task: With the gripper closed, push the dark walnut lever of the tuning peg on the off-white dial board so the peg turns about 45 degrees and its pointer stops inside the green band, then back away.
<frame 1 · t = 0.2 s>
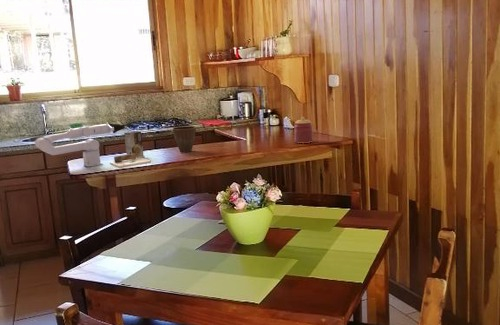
hand: (121, 126, 320), 21 cm above the breakfast bar, tool horizontal, fingers open, 7 cm apart
plant pot: (185, 151, 342), on the breakfast bar
canister: (303, 142, 353), on the breakfast bar
tuning peg: (125, 157, 314), point 3 cm above the breakfast bar, hinge at 0.0°
coffee box: (135, 157, 333), on the breakfast bar
dial board: (130, 163, 313), on the breakfast bar
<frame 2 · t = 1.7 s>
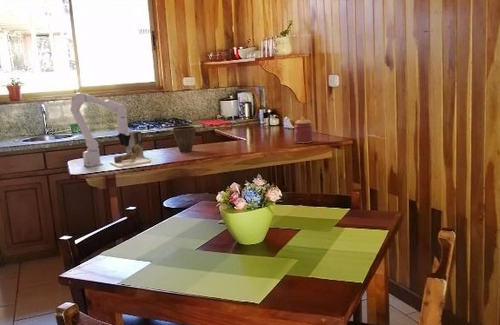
hand: (124, 145, 319), 9 cm above the breakfast bar, tool pointing down, fingers open, 6 cm apart
nothing on the breakfast bar moved.
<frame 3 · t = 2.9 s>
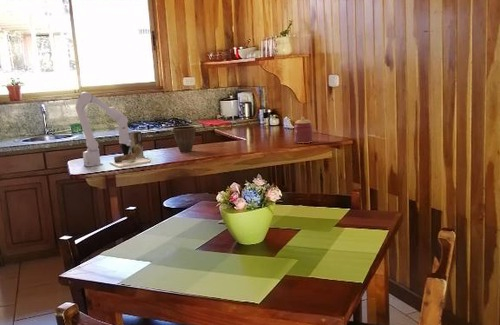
hand: (126, 155, 320), 3 cm above the breakfast bar, tool pointing down, fingers closed
nothing on the breakfast bar moved.
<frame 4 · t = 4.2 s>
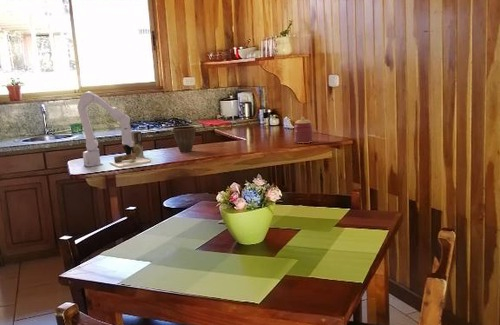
hand: (128, 157, 316), 3 cm above the breakfast bar, tool pointing down, fingers closed, pressing on tuning peg
tuning peg: (125, 157, 314), point 3 cm above the breakfast bar, hinge at 2.8°, touching gripper
everything else where it was.
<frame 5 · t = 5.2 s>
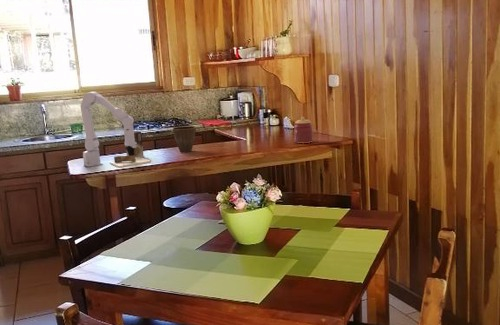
hand: (131, 158, 312), 3 cm above the breakfast bar, tool pointing down, fingers closed, pressing on tuning peg
tuning peg: (124, 158, 311), point 3 cm above the breakfast bar, hinge at 44.4°, touching gripper
everything else where it was.
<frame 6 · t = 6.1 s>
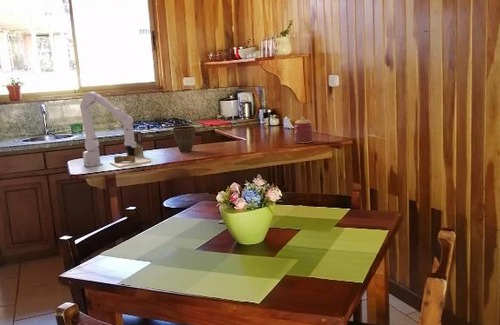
hand: (131, 158, 313), 3 cm above the breakfast bar, tool pointing down, fingers closed
tuning peg: (124, 158, 311), point 3 cm above the breakfast bar, hinge at 48.6°
everything else where it was.
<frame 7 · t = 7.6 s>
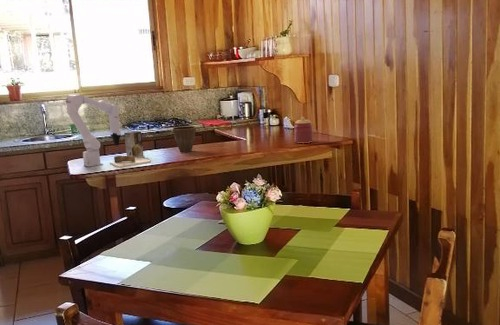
hand: (116, 145, 323), 9 cm above the breakfast bar, tool pointing down, fingers closed
nothing on the breakfast bar moved.
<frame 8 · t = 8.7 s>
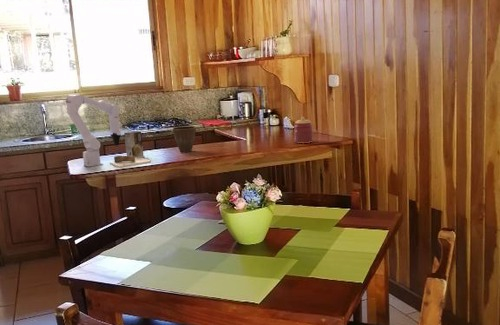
hand: (116, 145, 323), 9 cm above the breakfast bar, tool pointing down, fingers closed
nothing on the breakfast bar moved.
at the end: tuning peg at +49° (first picture: +0°) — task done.
